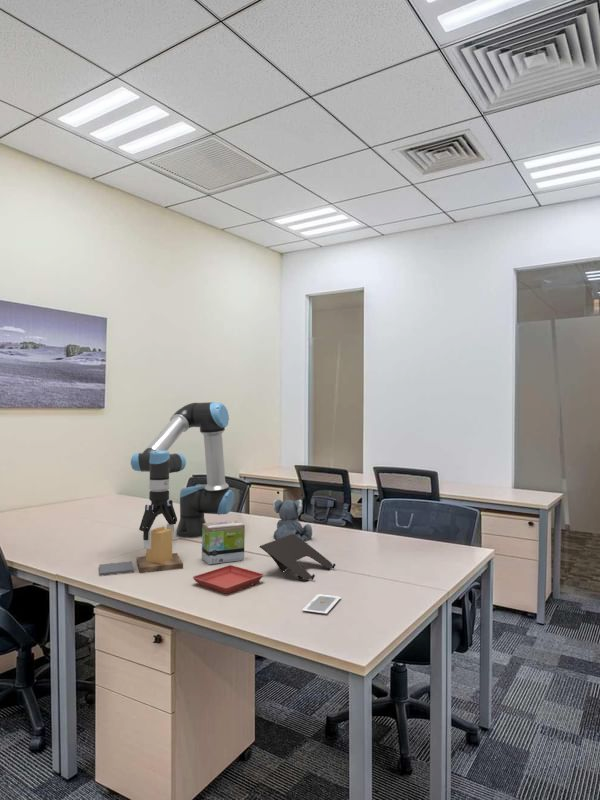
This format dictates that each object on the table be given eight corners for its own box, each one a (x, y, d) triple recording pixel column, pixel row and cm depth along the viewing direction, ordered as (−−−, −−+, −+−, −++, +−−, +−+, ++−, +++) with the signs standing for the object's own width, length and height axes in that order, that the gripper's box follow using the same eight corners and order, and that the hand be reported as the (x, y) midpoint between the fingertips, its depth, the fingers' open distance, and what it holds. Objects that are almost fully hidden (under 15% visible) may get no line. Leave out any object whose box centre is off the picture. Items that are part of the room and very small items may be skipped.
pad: (131, 563, 214) (131, 561, 214) (133, 572, 203) (133, 569, 203) (99, 567, 210) (99, 564, 210) (99, 576, 198) (99, 573, 198)
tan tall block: (157, 556, 216) (157, 525, 217) (172, 558, 214) (172, 527, 214) (146, 561, 210) (146, 529, 210) (160, 563, 207) (160, 530, 207)
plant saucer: (226, 597, 176) (226, 587, 176) (191, 585, 188) (191, 576, 188) (264, 583, 190) (264, 574, 190) (230, 573, 202) (230, 564, 202)
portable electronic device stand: (299, 599, 190) (309, 578, 188) (252, 561, 201) (261, 541, 199) (330, 581, 209) (340, 562, 207) (286, 548, 220) (294, 529, 218)
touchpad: (341, 600, 173) (341, 593, 173) (326, 617, 159) (326, 609, 159) (318, 597, 176) (318, 590, 176) (301, 613, 162) (301, 606, 162)
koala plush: (314, 538, 255) (314, 496, 255) (299, 547, 239) (298, 502, 239) (281, 534, 262) (281, 494, 262) (264, 543, 246) (264, 500, 246)
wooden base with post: (177, 557, 222) (177, 531, 222) (183, 568, 207) (183, 539, 207) (136, 561, 216) (136, 534, 217) (139, 573, 201) (139, 543, 202)
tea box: (209, 565, 211) (209, 527, 211) (201, 559, 220) (201, 523, 220) (245, 560, 218) (245, 523, 218) (236, 554, 227) (236, 519, 227)
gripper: (145, 495, 199) (145, 552, 199) (186, 486, 222) (185, 538, 222) (129, 493, 202) (129, 550, 202) (171, 485, 225) (171, 537, 225)
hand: (158, 544), depth 212 cm, fingers open, 13 cm apart
